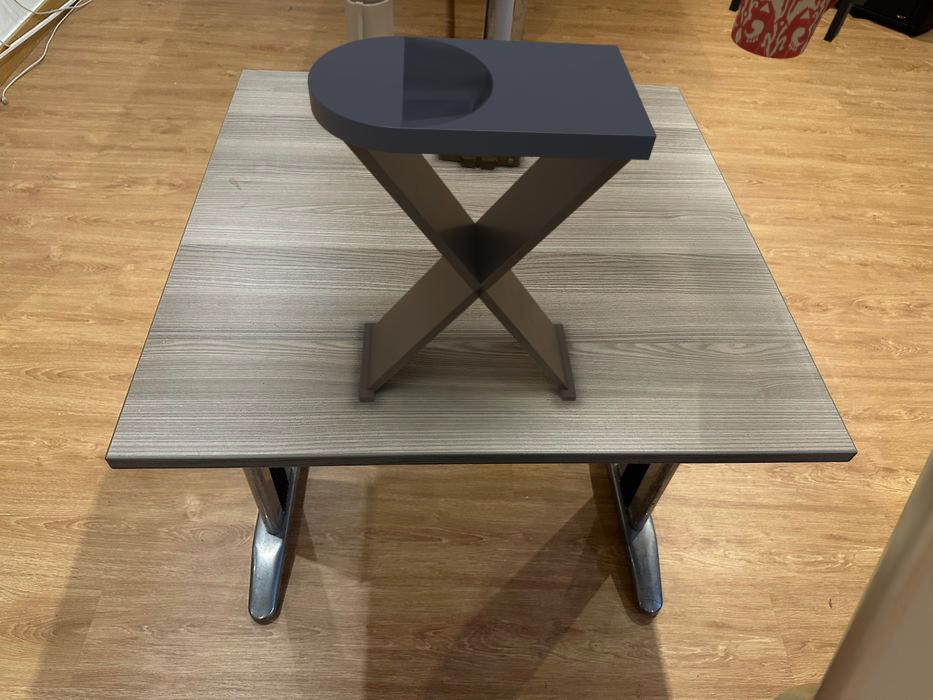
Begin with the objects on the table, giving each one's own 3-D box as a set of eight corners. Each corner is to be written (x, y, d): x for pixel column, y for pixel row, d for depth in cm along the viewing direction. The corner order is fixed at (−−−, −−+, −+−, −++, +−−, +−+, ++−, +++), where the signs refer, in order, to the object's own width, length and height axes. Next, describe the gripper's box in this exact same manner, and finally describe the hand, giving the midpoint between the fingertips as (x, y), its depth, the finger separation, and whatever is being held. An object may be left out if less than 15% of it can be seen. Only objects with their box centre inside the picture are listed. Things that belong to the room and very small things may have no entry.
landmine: (433, 149, 98) (442, 100, 108) (433, 165, 100) (441, 114, 110) (525, 158, 98) (525, 107, 108) (523, 173, 100) (523, 122, 110)
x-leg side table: (559, 320, 81) (629, 45, 55) (577, 413, 72) (670, 136, 46) (349, 319, 79) (317, 32, 52) (340, 414, 70) (296, 124, 43)
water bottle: (358, 104, 110) (347, -61, 91) (403, 111, 110) (401, -53, 91) (341, 132, 104) (325, -38, 85) (388, 140, 104) (382, -30, 85)
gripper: (1090, -282, 45) (904, 43, 62) (788, -319, 53) (696, -20, 70) (1083, -277, 41) (886, 70, 58) (757, -318, 48) (667, 0, 66)
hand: (782, 21), depth 64 cm, fingers closed on mug, 9 cm apart
